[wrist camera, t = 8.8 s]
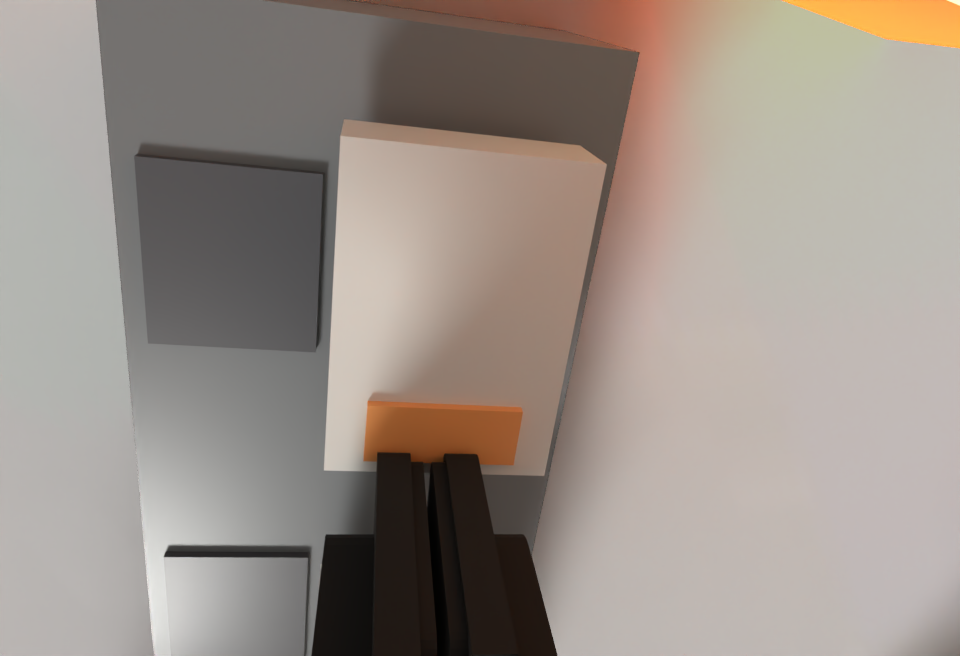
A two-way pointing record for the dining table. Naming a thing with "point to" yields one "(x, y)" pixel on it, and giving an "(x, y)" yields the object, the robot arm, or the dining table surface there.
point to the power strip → (287, 269)
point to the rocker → (454, 294)
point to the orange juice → (895, 18)
